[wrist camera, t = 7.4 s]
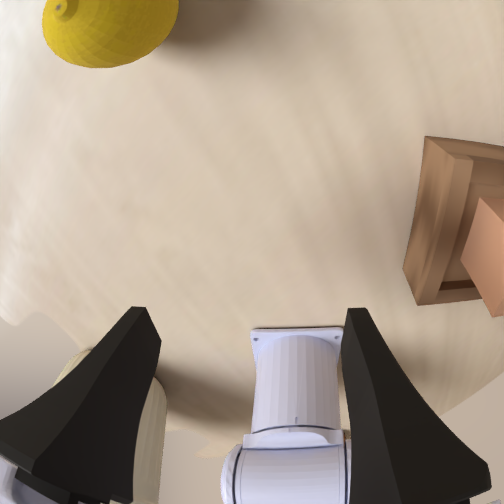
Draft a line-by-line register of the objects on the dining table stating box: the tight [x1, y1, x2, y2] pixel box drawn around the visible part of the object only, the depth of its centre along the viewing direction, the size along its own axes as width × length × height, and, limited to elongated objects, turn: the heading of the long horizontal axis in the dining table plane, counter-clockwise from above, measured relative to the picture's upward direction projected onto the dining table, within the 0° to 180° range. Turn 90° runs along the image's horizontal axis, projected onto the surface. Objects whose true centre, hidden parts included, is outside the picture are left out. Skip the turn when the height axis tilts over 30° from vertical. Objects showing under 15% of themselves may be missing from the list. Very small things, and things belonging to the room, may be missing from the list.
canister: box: [51, 350, 167, 504], centre depth 26 cm, size 18×18×21 cm
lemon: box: [42, 0, 179, 68], centre depth 9 cm, size 6×6×8 cm
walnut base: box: [403, 136, 504, 306], centre depth 16 cm, size 10×10×4 cm
